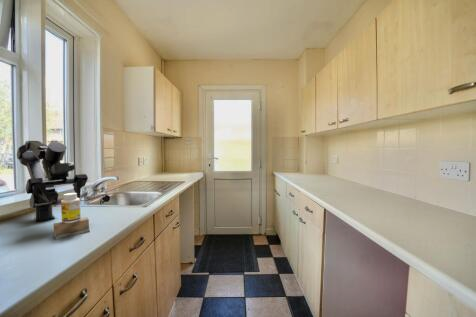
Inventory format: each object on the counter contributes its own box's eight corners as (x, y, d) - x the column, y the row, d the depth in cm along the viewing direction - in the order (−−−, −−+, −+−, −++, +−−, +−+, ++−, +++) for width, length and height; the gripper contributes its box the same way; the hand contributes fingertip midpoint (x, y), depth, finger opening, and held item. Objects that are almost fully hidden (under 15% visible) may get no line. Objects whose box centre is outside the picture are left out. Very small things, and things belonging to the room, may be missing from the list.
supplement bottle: (60, 221, 83) (59, 193, 82) (78, 217, 87) (77, 191, 87) (63, 224, 79) (62, 196, 79) (82, 220, 83) (81, 193, 83)
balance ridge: (55, 239, 78) (55, 226, 77) (53, 235, 82) (53, 222, 81) (89, 231, 85) (89, 219, 84) (86, 228, 89) (86, 216, 88)
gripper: (26, 156, 80) (37, 190, 74) (85, 154, 95) (98, 183, 90) (21, 176, 85) (31, 210, 79) (78, 172, 100) (90, 200, 94)
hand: (65, 199), depth 85 cm, fingers open, 9 cm apart
